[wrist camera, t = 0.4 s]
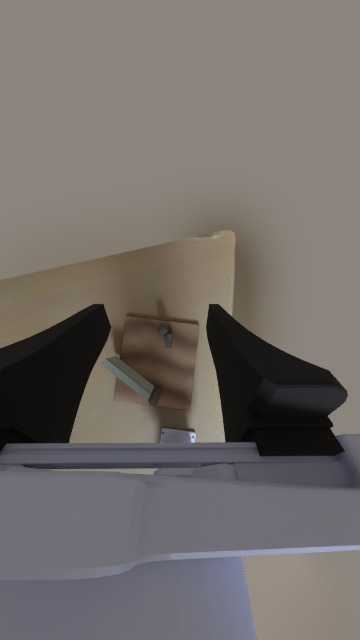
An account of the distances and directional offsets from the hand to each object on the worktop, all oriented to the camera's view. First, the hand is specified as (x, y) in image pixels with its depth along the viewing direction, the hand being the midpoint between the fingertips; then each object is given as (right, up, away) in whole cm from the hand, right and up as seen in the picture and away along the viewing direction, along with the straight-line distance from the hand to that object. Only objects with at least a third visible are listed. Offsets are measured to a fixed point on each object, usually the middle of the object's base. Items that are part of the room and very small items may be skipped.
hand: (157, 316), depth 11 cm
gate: (-9, -13, +26) cm, 30 cm away
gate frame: (-4, -10, +27) cm, 30 cm away
